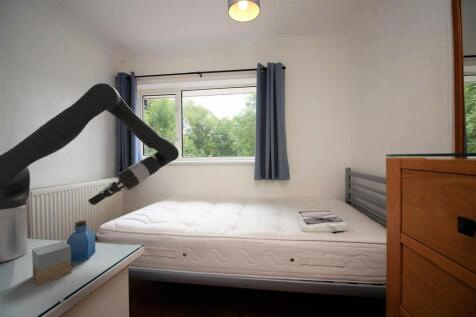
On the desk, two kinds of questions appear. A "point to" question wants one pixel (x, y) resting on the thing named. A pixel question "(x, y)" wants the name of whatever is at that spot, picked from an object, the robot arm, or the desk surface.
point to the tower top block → (51, 255)
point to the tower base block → (51, 272)
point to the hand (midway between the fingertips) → (90, 202)
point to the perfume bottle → (81, 242)
